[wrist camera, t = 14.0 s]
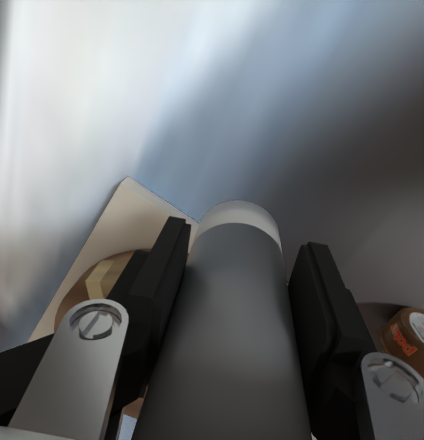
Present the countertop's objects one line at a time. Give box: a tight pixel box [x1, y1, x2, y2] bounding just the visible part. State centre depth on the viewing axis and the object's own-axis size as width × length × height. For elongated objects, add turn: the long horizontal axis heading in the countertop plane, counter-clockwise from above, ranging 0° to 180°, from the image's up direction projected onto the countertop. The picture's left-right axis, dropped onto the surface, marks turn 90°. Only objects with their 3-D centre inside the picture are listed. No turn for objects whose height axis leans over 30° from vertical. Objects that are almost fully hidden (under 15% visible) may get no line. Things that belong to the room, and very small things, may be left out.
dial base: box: [27, 176, 288, 343], centre depth 29 cm, size 21×21×2 cm
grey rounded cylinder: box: [131, 200, 312, 440], centre depth 10 cm, size 4×4×10 cm
